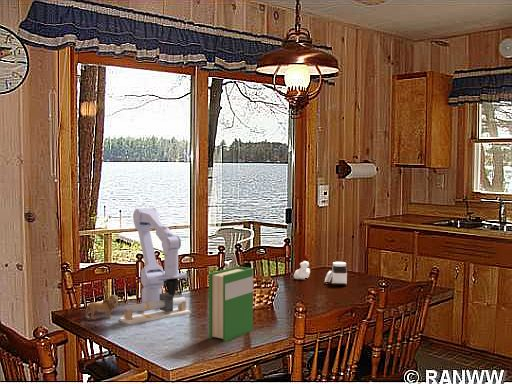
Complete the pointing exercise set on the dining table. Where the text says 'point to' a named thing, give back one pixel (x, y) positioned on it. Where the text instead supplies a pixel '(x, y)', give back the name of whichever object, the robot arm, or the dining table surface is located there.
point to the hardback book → (230, 302)
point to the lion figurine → (102, 306)
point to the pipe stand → (153, 315)
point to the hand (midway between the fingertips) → (171, 296)
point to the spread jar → (337, 274)
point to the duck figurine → (302, 271)
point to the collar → (167, 302)
